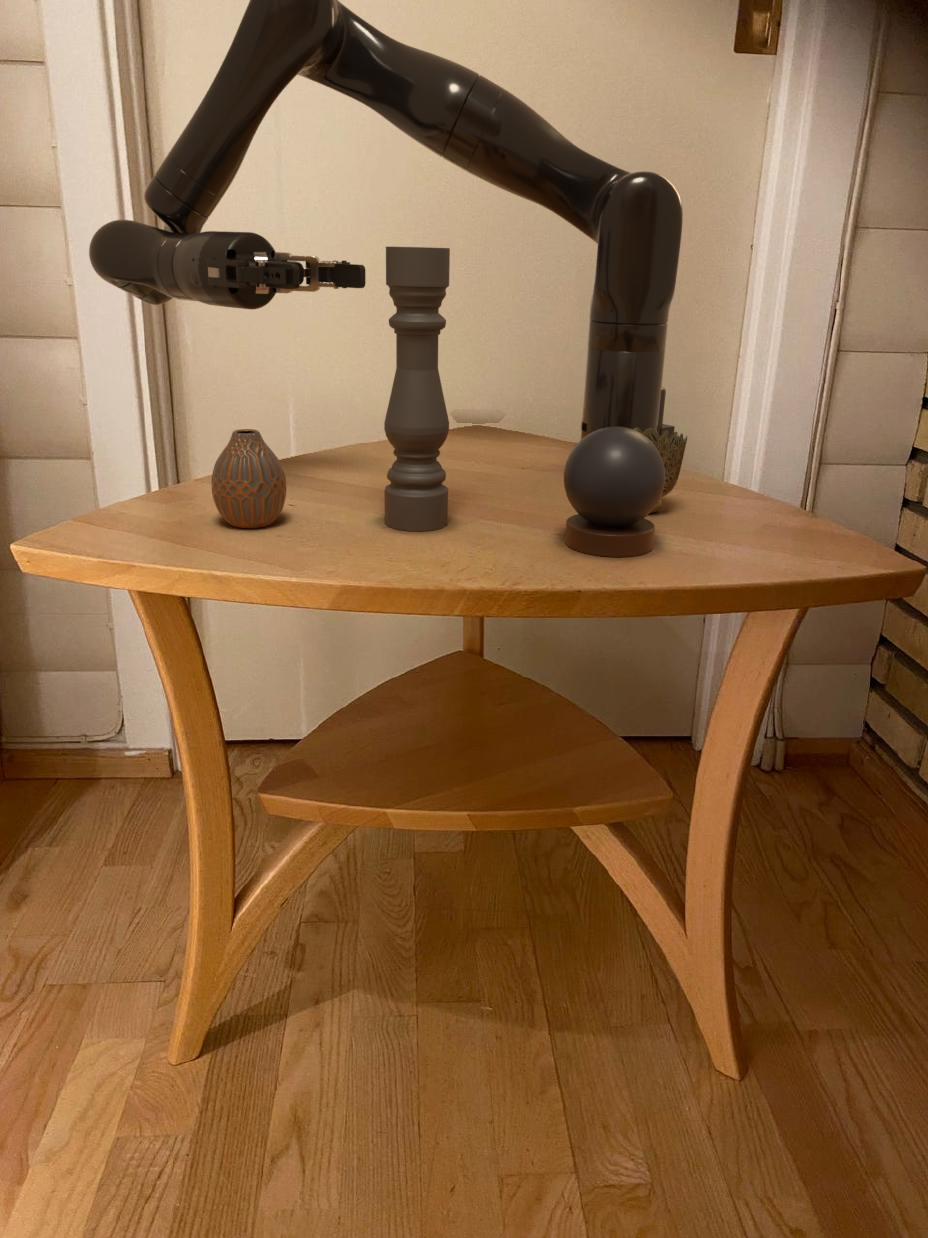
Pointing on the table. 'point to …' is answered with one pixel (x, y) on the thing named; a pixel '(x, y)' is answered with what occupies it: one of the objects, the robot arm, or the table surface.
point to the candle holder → (417, 390)
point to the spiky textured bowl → (667, 456)
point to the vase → (248, 481)
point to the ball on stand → (613, 492)
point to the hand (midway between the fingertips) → (331, 276)
